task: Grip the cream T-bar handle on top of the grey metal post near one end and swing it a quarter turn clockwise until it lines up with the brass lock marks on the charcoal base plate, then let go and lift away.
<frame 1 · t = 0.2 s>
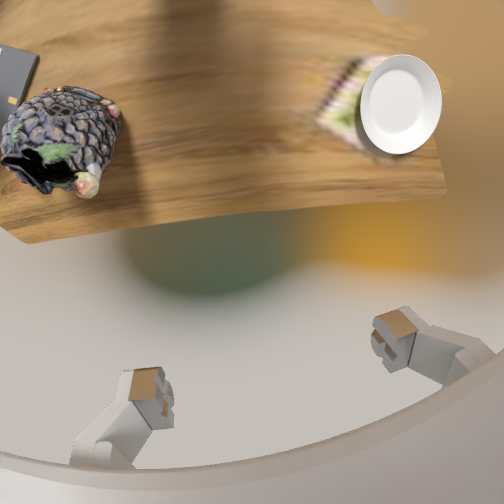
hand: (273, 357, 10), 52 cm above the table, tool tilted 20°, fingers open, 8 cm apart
pineapple fairy house: (81, 117, 46), on the table
white plate: (396, 101, 56), on the table
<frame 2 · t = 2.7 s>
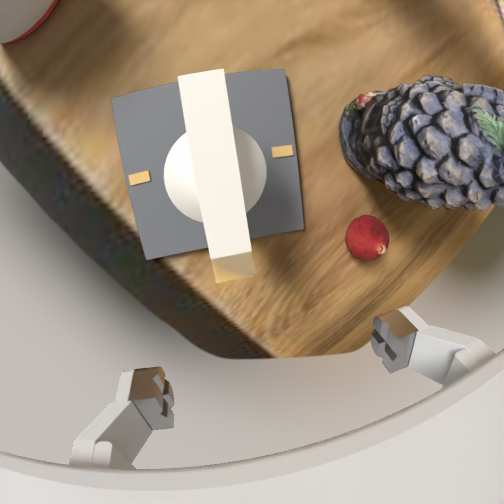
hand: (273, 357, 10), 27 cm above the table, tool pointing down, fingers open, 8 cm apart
pineapple fairy house: (390, 134, 36), on the table
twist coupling: (215, 174, 22), point 13 cm above the table, hinge at 0.0°
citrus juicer: (25, 11, 19), on the table
onion: (353, 228, 40), on the table
lock base: (210, 161, 33), on the table
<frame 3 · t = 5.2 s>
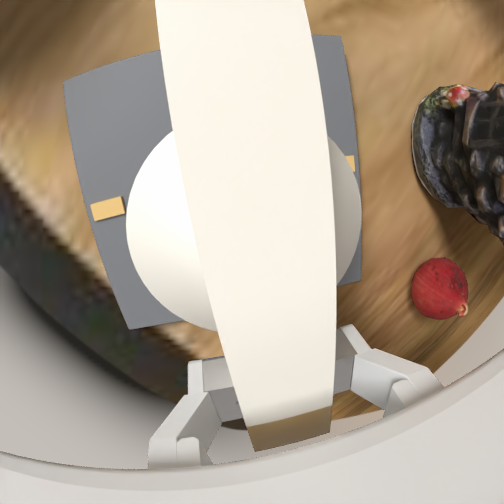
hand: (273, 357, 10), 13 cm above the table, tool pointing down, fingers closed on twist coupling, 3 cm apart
pineapple fairy house: (465, 144, 23), on the table
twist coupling: (252, 235, 9), point 13 cm above the table, hinge at 0.0°, touching gripper
onion: (416, 271, 27), on the table
lock base: (222, 178, 21), on the table
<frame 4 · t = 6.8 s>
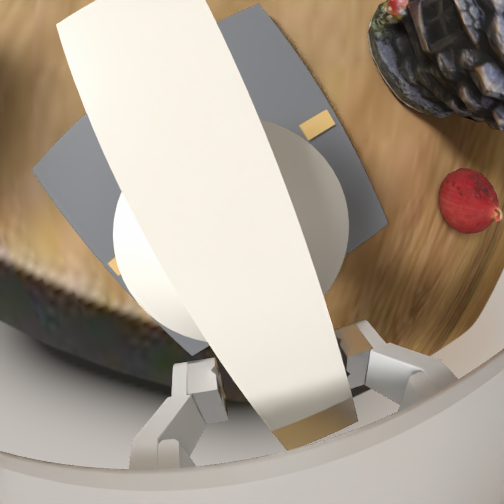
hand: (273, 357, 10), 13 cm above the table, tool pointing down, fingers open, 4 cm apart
pineapple fairy house: (432, 48, 19), on the table
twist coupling: (236, 248, 9), point 13 cm above the table, hinge at -11.5°, touching gripper
onion: (440, 191, 24), on the table
lock base: (215, 186, 21), on the table
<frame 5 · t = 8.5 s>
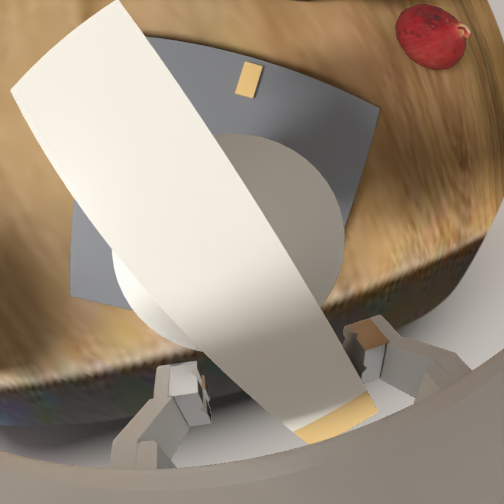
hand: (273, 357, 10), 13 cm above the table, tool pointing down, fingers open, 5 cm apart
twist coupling: (233, 263, 9), point 13 cm above the table, hinge at -43.0°, touching gripper
onion: (403, 44, 18), on the table
lock base: (214, 193, 21), on the table
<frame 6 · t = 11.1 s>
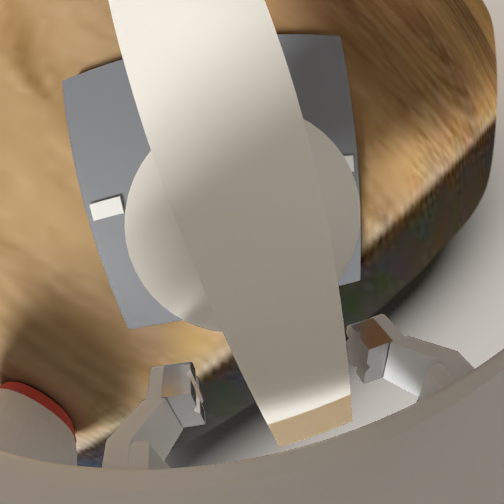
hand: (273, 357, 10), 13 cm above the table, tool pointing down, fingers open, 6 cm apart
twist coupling: (250, 235, 9), point 13 cm above the table, hinge at -82.2°
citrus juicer: (42, 411, 27), on the table
lock base: (221, 178, 21), on the table
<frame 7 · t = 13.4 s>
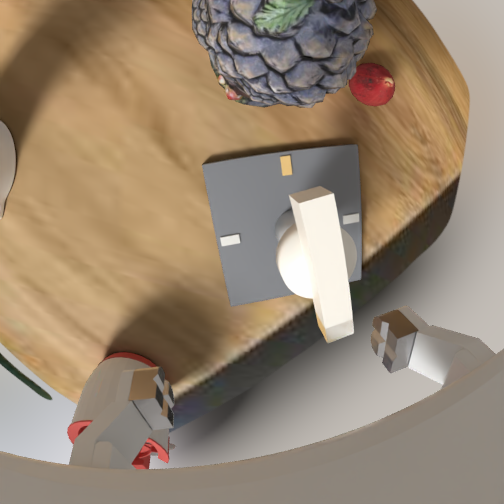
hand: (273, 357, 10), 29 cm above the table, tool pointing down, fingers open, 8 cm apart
pineapple fairy house: (256, 42, 30), on the table
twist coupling: (321, 264, 28), point 13 cm above the table, hinge at -82.3°
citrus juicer: (136, 375, 48), on the table
onion: (358, 87, 33), on the table
lock base: (290, 224, 40), on the table
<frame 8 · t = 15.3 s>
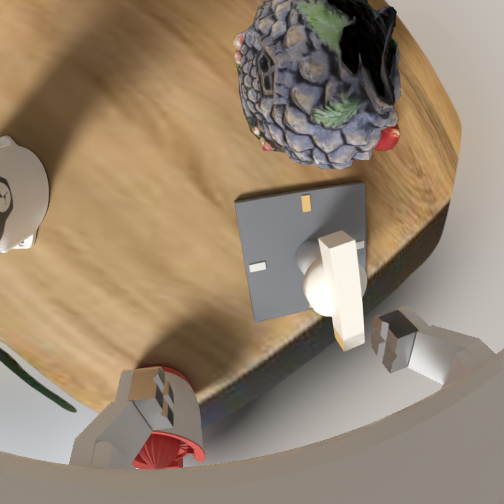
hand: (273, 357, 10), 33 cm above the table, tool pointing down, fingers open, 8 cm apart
pineapple fairy house: (281, 89, 37), on the table
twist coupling: (340, 290, 35), point 13 cm above the table, hinge at -82.3°
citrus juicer: (164, 385, 53), on the table
onion: (366, 130, 41), on the table
lock base: (306, 251, 46), on the table
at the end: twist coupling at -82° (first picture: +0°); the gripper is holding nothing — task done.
